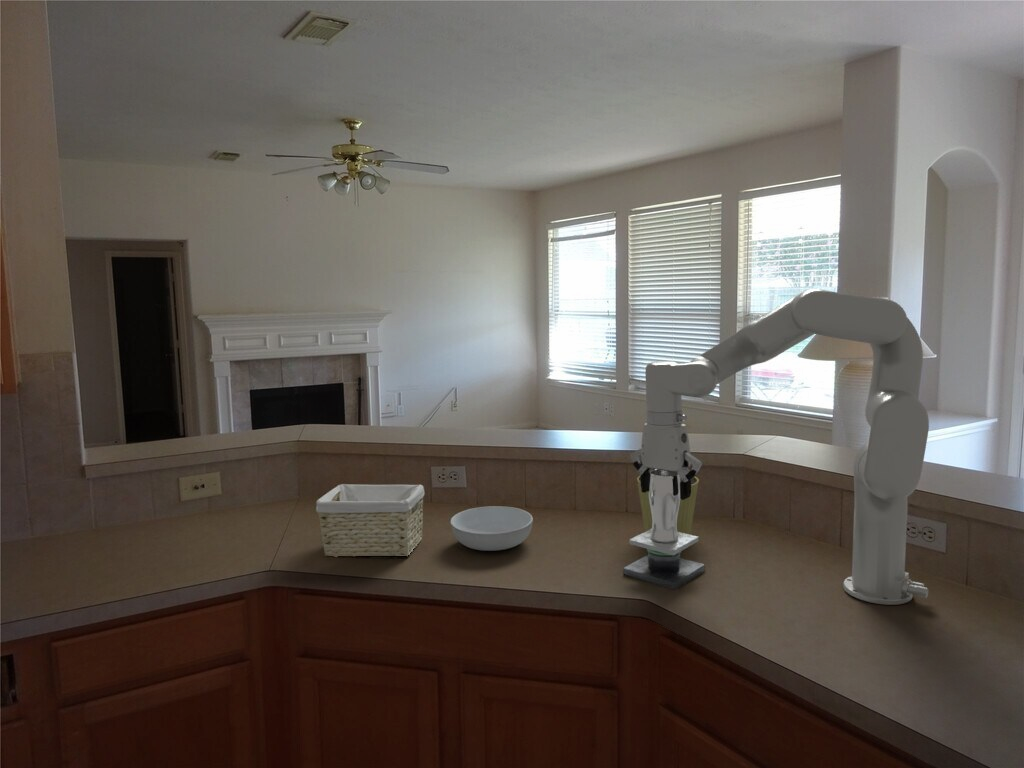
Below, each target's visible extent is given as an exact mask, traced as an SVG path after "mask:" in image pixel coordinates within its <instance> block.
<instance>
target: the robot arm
mask: <svg viewBox="0 0 1024 768" xmlns="http://www.w3.org/2000/svg"><path fill="white" fill-rule="evenodd" d="M813 335H818V336H822V337H828V338H834V339H839V340H847V341H852V342H860V343H866V344H869V345H870V348H871V350H872V357H873V358H872V359H873V361H872V369H871V371H872V372H871V380H870V385H869V390H868V397H867V401H866V404H865V405H866V406H865V410H864V411H865V412H864V413H865V415H864V416H865V419H866V422H867V423H868V425H869V427H870V431H869V432H870V433H869V438H868V441H867V442H865V443H864V444H863V445H861V446H860V447H859V448H858V450H857V452H856V454H855V456H854V460H853V486H854V502H853V503H854V505H853V506H854V507H853V511H854V513H853V530H852V531H853V535H852V537H853V538H852V560H851V561H852V565H851V576H847V578H845V579H844V580H843V587H842V589H844V591H845V592H846V593H847V594H848V595H850V596H851V597H854V598H856V599H857V600H861V601H863V602H868V603H871V604H876V605H886V606H887V605H889V606H896V605H903V604H906V603H908V602H910V601H912V599H913V596H915V595H916V596H917V597H921V598H925V599H928V596H929V588H928V587H925V583H922V582H918V581H912V579H910V573H909V572H907V571H906V551H907V550H906V549H907V546H906V545H907V531H908V530H907V525H908V523H907V522H908V504H909V503H908V497H909V496H910V495H912V494H913V492H914V491H915V490H916V489H917V487H918V485H919V483H920V480H921V476H922V470H923V465H924V459H925V453H926V448H927V443H928V436H929V429H930V424H929V423H930V420H929V414H928V411H927V409H926V407H925V406H924V404H923V403H922V402H921V401H920V400H919V396H920V394H919V393H920V387H921V380H922V369H923V362H924V361H923V358H924V357H923V356H924V354H923V345H922V341H921V338H920V335H919V333H918V331H917V329H916V327H915V326H914V324H913V323H912V321H911V320H910V319H909V318H908V317H907V313H906V311H905V310H904V308H903V307H902V306H901V305H900V304H899V303H898V302H896V301H894V300H891V299H888V298H887V299H886V298H880V297H870V296H864V295H858V294H857V295H856V294H848V293H842V292H837V291H830V290H825V289H821V288H809V289H806V290H803V291H800V293H798V294H797V295H794V296H793V297H792V298H790V299H788V300H787V301H785V302H783V303H782V304H780V305H778V306H777V307H775V308H773V309H772V310H770V311H769V312H767V313H766V314H763V315H762V316H760V317H758V318H757V319H755V320H754V321H752V322H750V323H749V324H747V325H745V326H744V327H742V328H740V329H739V330H738V331H737V332H735V333H733V334H732V335H731V336H729V337H728V338H726V339H725V340H723V341H721V342H720V343H718V344H716V345H714V346H713V347H710V348H709V349H708V350H706V351H705V352H703V353H702V354H699V355H697V357H695V358H693V359H692V360H690V361H689V362H688V363H678V362H676V361H671V360H658V361H652V362H648V364H646V367H645V371H644V372H645V405H646V409H645V412H646V415H645V416H646V418H645V419H646V422H645V423H644V425H643V430H642V437H641V445H640V446H641V448H639V449H636V450H634V451H633V452H631V453H629V456H630V458H631V461H632V464H633V465H632V466H633V467H634V468H635V469H636V470H637V473H638V475H639V476H641V489H642V492H643V493H645V492H647V491H649V477H650V471H651V470H654V469H658V470H664V471H671V472H677V473H678V475H679V476H680V478H681V479H682V481H681V482H680V499H681V500H684V499H687V498H689V497H690V495H691V479H693V478H694V477H696V476H697V475H698V474H699V472H700V469H701V467H702V466H703V462H702V461H701V460H699V459H698V458H697V457H695V456H694V455H692V454H691V448H690V447H691V445H690V438H689V434H688V430H687V425H686V424H685V423H683V422H686V421H687V420H688V417H687V415H686V414H683V410H682V408H683V407H682V402H683V401H682V396H684V397H692V398H704V397H707V396H709V395H710V394H712V393H713V392H714V390H715V389H716V387H717V386H718V385H719V383H721V382H724V381H725V380H727V379H729V378H730V377H731V376H734V375H735V374H737V373H739V372H741V371H742V370H744V369H746V368H747V369H748V368H749V367H751V366H755V365H758V364H763V363H766V362H768V361H771V360H772V359H774V358H777V357H778V356H779V355H781V354H783V353H784V352H786V351H787V350H789V349H791V348H793V347H795V346H796V345H798V344H800V343H802V341H803V342H804V341H805V340H806V339H808V338H810V337H812V336H813ZM640 457H641V458H640ZM640 459H641V460H640ZM691 466H692V467H691ZM690 467H691V469H689V468H690Z"/></svg>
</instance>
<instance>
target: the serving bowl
mask: <svg viewBox="0 0 1024 768" xmlns="http://www.w3.org/2000/svg"><path fill="white" fill-rule="evenodd" d="M533 518H534V517H533V516H532V514H531V513H529V512H528V511H527V510H524V509H522V508H517V507H513V506H501V505H499V506H498V505H496V506H495V505H493V506H492V505H489V506H479V507H474V508H468V509H466V510H463V511H460V512H458V513H455V514H454V516H452V517H451V518H450V527H451V531H452V534H453V535H454V537H455V538H456V540H457V541H458V543H460V544H461V545H463V546H465V547H467V548H470V549H472V550H476V551H477V550H478V551H485V552H486V551H489V552H490V551H491V552H492V551H493V552H494V551H502V550H507V549H511V548H514V547H516V546H518V545H520V544H522V543H523V542H524V541H525V540H527V538H528V537H529V535H530V533H531V531H532V528H533V524H534V523H533V522H534V520H533Z"/></svg>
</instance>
